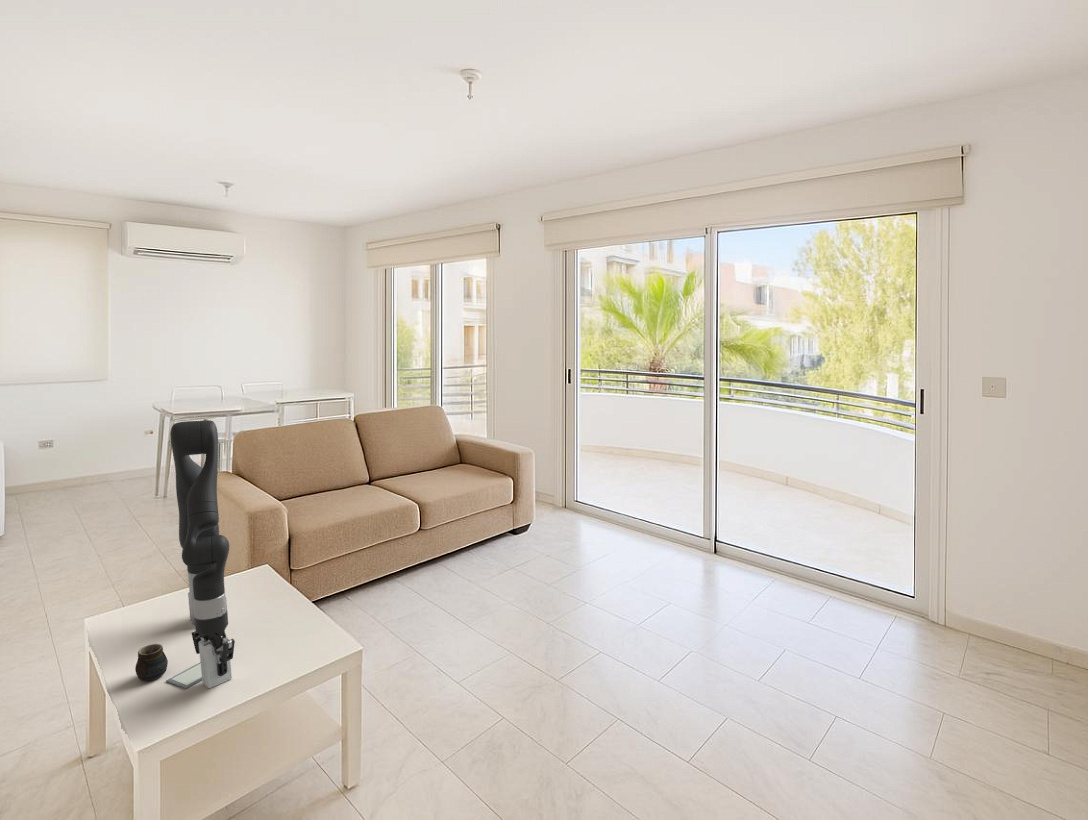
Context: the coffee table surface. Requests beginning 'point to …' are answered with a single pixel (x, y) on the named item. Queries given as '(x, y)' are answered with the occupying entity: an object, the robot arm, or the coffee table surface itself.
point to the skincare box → (211, 666)
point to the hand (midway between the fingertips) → (215, 671)
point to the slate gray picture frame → (187, 677)
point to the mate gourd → (151, 662)
